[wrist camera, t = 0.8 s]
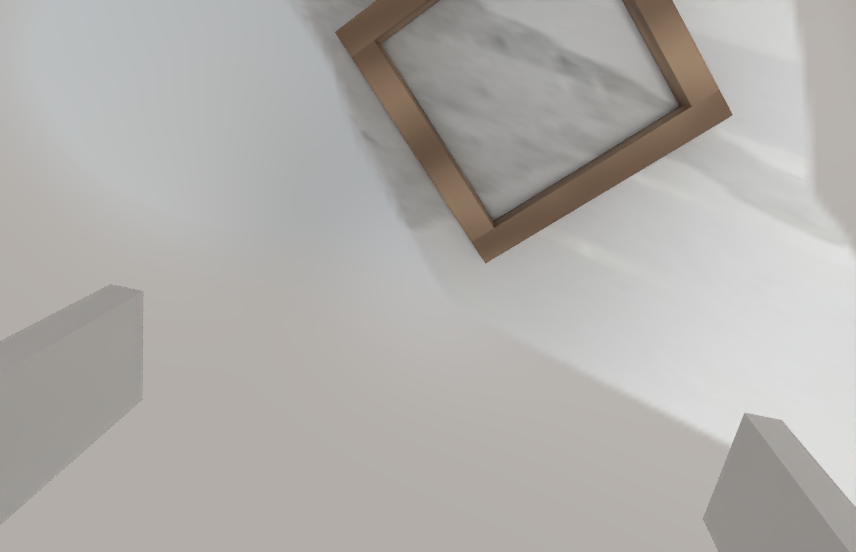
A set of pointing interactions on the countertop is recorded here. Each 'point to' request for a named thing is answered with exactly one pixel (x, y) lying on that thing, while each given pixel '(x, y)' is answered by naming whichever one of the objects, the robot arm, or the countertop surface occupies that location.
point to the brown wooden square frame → (493, 238)
